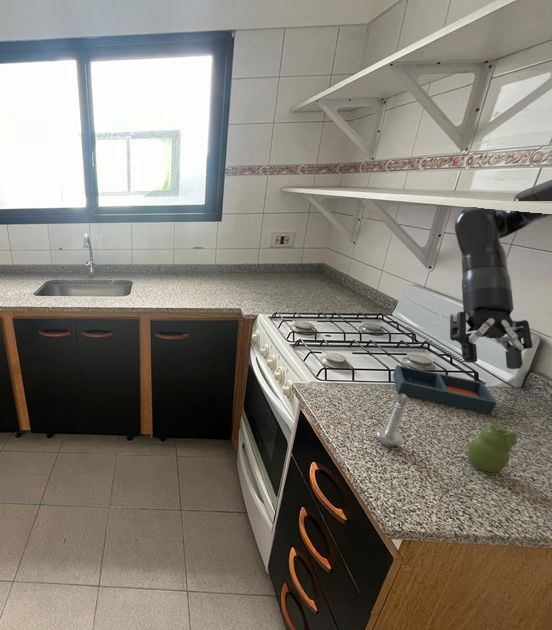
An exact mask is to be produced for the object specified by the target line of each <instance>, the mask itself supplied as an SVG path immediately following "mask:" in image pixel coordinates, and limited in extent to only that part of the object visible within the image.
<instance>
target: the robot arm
mask: <svg viewBox="0 0 552 630" xmlns="http://www.w3.org/2000/svg"><path fill="white" fill-rule="evenodd" d="M513 200H514V201H552V179H549V180H547V181H545V182H542V183H539V184H536V185H534V186H532V187H529V188H527V189H524V190H522V191H520V192H518V193H517V194H515V195H514V197H513ZM495 209H496V208H495ZM495 209H484V208H477V207H467V206H466V207H464V208H463V209H462V210H460V211H459V212H458V213H457V215H456V218H455V221H454V232H455V237H456V241H457V245H458V248H459V251H460V254H461V272H462V279H461V293H462V310H463V311H459V312H456V313H451V314H450V315H449V339H450V340H451V341H453V342H454V341H456V342H457V343H459V344H460V347H461V358H462V360H463V361H464V363H469V364H471V363H476V362H477V361H478V353H477V344H476V342H477V341H478V340H479V338H488V339H494V340H495V342H497V343H498V344H501V345H502V347H503V348H504V349H505V350H506V351H505V362H506V363H505V364H506V368H507V369H509V370H519V369H522V367H523V355H522V352H523V351H524V350H528V349H532V348H533V341H532V340H533V339H532V335H531V330H530V329H531V328H530V323H529V321H528V320H525V319H524V320H523V319H522V320H513V319H512V317H511V313H513V310H514V309H515V308H514V299H513V291H512V282H511V281H512V280H511V276H510V273H509V268H508V260H507V259H508V258H507V252H506V250H505V248H504V246H503V245H502V242H501V241H500V240H501V239H503V238H506V237H508V236H510V235H512V234H514V233H516V232H519V231H520V230H522V229H524V228H526V227H528V226H531V224H533V223H535V222H537V221H541V220H544V219H547V218H551V217H552V214H542V213H530V212H519V211H503V210H500V209H498V210H497V209H496V210H495ZM467 325H468V327H467ZM522 341H523V342H522Z"/></svg>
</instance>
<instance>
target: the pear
mask: <svg viewBox="0 0 552 630" xmlns="http://www.w3.org/2000/svg"><path fill="white" fill-rule="evenodd" d="M517 443H518V439H517V433H515V432H513V431H512V430H509V429H507V428H505V427H503V426H501V425H499V424H497V423H493V424H491V425H487V426H486V427H485V428H484V429H483V430H481V432H480V433H479V435H478V437H475V438H474V439H472V441H471V442H470V443H469V445H468V448H467V457H468V460H469V461H470V462H471V464H472V465H474V466H475V467H476V468H478V469H479V470H482V471H484V472H489V473H495V472H496V473H497V472H500V471H503V469H504V468H506V466H507V465H508V463H509V461H510V451H511V450H512V448H513V447H514V446H516V445H517Z"/></svg>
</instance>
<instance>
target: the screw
mask: <svg viewBox="0 0 552 630" xmlns="http://www.w3.org/2000/svg"><path fill="white" fill-rule="evenodd" d="M407 400H408V396H406V395H405V394H399V396H398V398H397V401H395V403H394V404H393V408H392V410H391V413H390V415H389V416H390V417H388V418H389V419H388V421H387V423H386V426H385V427H383V426H381V427H377V428H376V429H375V431H374V432H375V435H376V437H377V438H378V439H379V442H380V444H381V445H383V446H385V447H387V448H390V447H395V446H396V445H398V446H399V445H402V443H403V441H404V439H403V437H402V436H401V434H400V433H399V432H398V428H399V426H400V424H401V420H402V417H403V415H404V413H405V410H406V403H407Z"/></svg>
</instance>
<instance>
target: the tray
mask: <svg viewBox="0 0 552 630" xmlns="http://www.w3.org/2000/svg"><path fill="white" fill-rule="evenodd" d="M409 374H410V378H411V380H409ZM392 378H393V381H394V385H395V384H396V385H395V389H396V388H397V389H396V392H397V395H400V394H405V395H406V396H407V397H410V398H414V399H419V400H423V401H428V402H431V403H437V404H441V405H445V406H449V407H454V408H458V409H463V410H467V411H471V412H474V413H475V412H476V413H480V414H484V415H488V416H491V415H492V413H493V411H494V409H495V407H496V406H497V404H498V403H497V401H496V399H495V397H493V395H492V394H491V392H490V391H489V389H488V388H487V386H486V385H485V384H484V382H483V381H477V380H473V379H469V378H463V377H458V376H453V375H448V374H443V373H438V372H433V371H428V370H423V369H418V368H413V367H410V366H409V367H408V366H403V365H399V364H396V365H395V367H394V371H393V374H392Z"/></svg>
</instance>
